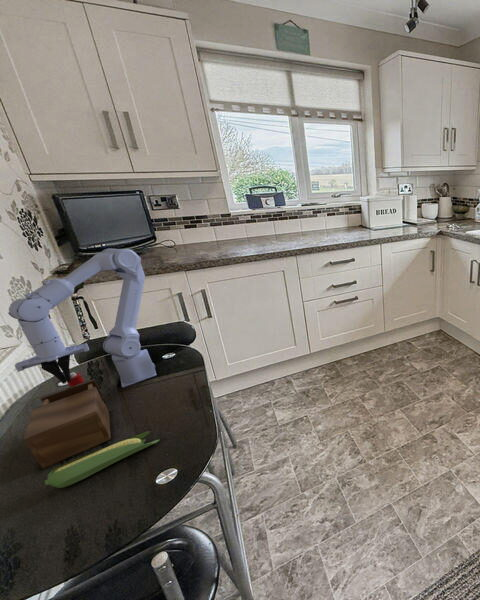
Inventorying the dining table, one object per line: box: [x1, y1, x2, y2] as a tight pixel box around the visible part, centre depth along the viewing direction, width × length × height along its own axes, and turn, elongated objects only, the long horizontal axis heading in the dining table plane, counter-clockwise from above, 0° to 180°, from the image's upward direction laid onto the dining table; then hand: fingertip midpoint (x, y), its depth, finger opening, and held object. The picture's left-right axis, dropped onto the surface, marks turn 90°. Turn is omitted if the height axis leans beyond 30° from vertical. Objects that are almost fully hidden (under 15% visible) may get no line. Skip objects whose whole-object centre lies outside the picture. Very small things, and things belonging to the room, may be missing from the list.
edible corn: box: [44, 430, 161, 489], centre depth 76 cm, size 5×20×5 cm, turn 130°
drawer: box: [40, 378, 106, 406], centre depth 92 cm, size 18×11×7 cm, turn 42°
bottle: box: [66, 371, 85, 388], centre depth 108 cm, size 4×4×6 cm
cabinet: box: [23, 387, 112, 469], centre depth 84 cm, size 15×13×9 cm
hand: (67, 381), depth 95 cm, fingers closed
